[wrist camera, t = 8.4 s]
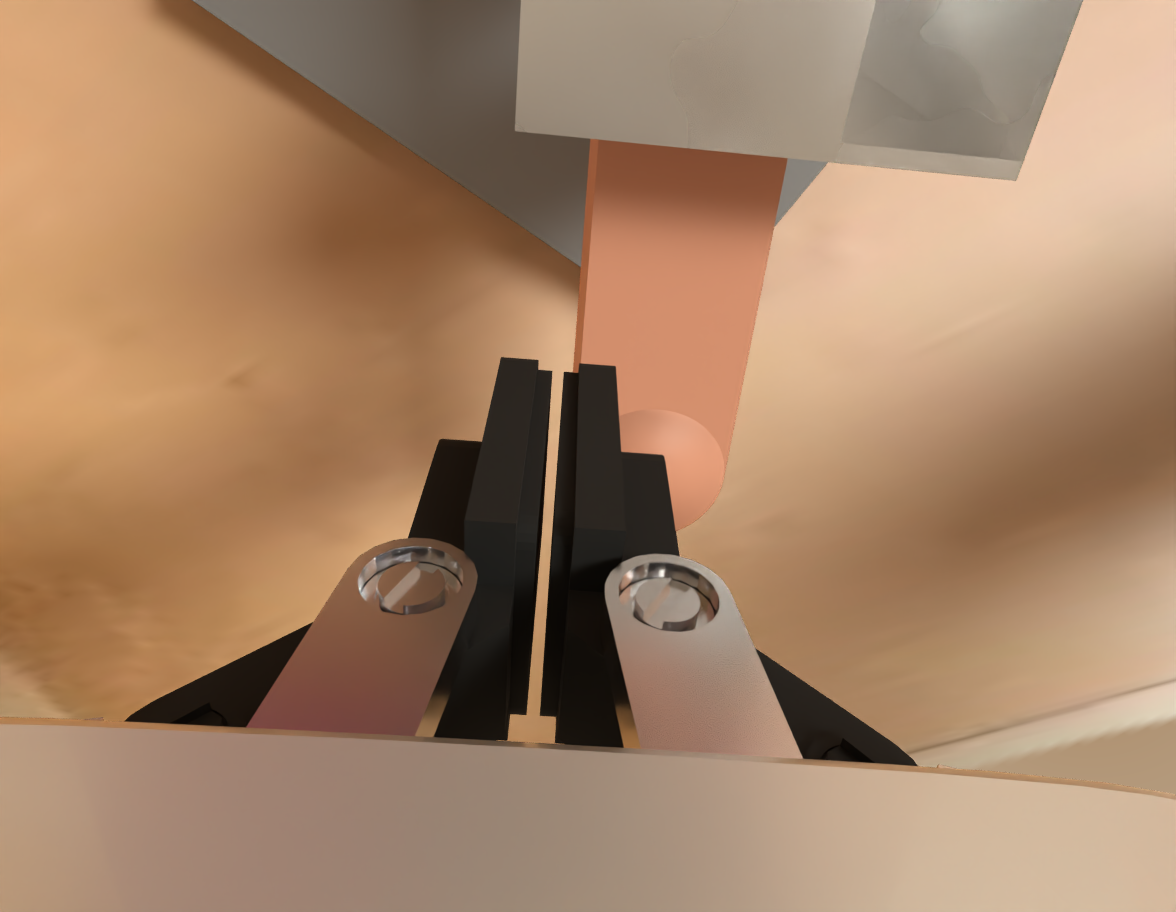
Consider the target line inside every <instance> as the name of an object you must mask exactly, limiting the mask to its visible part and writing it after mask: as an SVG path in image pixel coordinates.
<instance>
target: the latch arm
mask: <svg viewBox="0 0 1176 912" xmlns="http://www.w3.org/2000/svg"><path fill="white" fill-rule="evenodd" d="M787 160H788V158H781V157H770V156H760V155H750V154H740V153H730V152H720V151H710V150H700V149H690V148H680V147H670V146H659V145H649V144H639V143H629V142H619V141H609V140H599V139H590V151H589V164H588V178H587V191H586V205H585V218H584V232H583V245H582V258H581V272H580V285H579V299H578V312H577V326H576V339H575V352H574V366H573V373H578V369H579V363H583V364H596V365H609V366H616V375H617V391H618V407H619V424H620V440H621V452H632V453H646V454H660V455H663V456H664V458H665V462H666V469H667V476H668V482H669V489H670V496H671V503H672V509H673V516H674V523H675V530H676V531H678V530H680V529H682V528H685V527H686V526H688V525H690V524H691V523H693V522H695V521H696V520H697V519H699V518H700V517H701V516H702V515H703V514H704V513H705V512H706V511H707V510H708V509H709V508H710V507H711V505H712V504H713V503H714V501H715V500H716V498H717V496H718V494H719V492H720V490H721V487H722V483H723V479H724V474H725V469H726V464H727V459H728V454H729V449H730V444H731V439H732V434H733V429H734V424H735V420H736V415H737V410H738V405H739V400H740V395H741V390H742V385H743V380H744V375H745V370H746V365H747V360H748V355H749V350H750V345H751V340H752V335H753V330H754V325H755V320H756V315H757V310H758V305H759V300H760V295H761V290H762V285H763V280H764V275H765V270H766V265H767V260H768V255H769V250H770V245H771V240H772V235H773V230H774V225H775V220H776V215H777V210H778V205H779V200H780V195H781V190H782V185H783V180H784V175H785V170H786V165H787Z"/></svg>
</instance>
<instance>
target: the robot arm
mask: <svg viewBox="0 0 1176 912" xmlns="http://www.w3.org/2000/svg"><path fill="white" fill-rule="evenodd" d="M551 383H552V371H546V370H538V360H530V359H517V358H504V357H501V360H500V365H499V369H498V374H497V378H496V382H495V387H494V391H493V396H492V400H491V404H490V409H489V413H488V418H487V422H486V427H485V431H484V435H483V440H482V442H478V441H464V440H450V439H441V440H439V443H438V445H437V448H436V451H435V454H434V457H433V461H432V464H431V467H430V470H429V473H428V476H427V480H426V483H425V486H424V489H423V492H422V495H421V498H420V502H419V505H418V508H417V511H416V514H415V517H414V521H413V524H412V527H411V530H410V533H409V536H408V538H407V539H399V540H393V541H390V542H387V543H384V544H381V545H378V546H375V547H373V548H372V549H370V550H368V551H367V552H365V553H363V554H362V555H360V556H359V557H358V558H357V559H356V560H355V561H354V562H353V563H352V564H351V566H350V567H349V568H348V569H347V571H346V572H345V574H344V575H343V577H342V579H341V580H340V582H339V583H338V585H337V586H336V588H335V589H334V591H333V593H332V594H331V596H330V597H329V599H328V600H327V602H326V603H325V605H324V607H323V608H322V610H321V611H320V613H319V614H318V616H317V617H316V619H315V621H314V622H312V623H310V624H308V625H306V626H304V627H302V628H300V629H298V630H296V631H294V632H292V633H290V634H288V635H286V636H284V637H282V638H280V639H278V640H276V641H274V642H272V643H270V644H268V645H266V646H264V647H262V648H260V649H258V650H256V651H254V652H252V653H250V654H248V655H246V656H244V657H242V658H240V659H238V660H236V661H234V662H231V663H229V664H227V665H225V666H223V667H221V668H219V669H217V670H215V671H213V672H211V673H209V674H207V675H205V676H203V677H201V678H199V679H197V680H195V681H193V682H191V683H189V684H187V685H185V686H183V687H181V688H179V689H177V690H175V691H173V692H171V693H169V694H167V695H165V696H163V697H161V698H159V699H157V700H155V701H153V702H151V703H150V704H148V705H146V706H145V707H143V708H142V709H140V710H138V711H137V712H135V713H133V714H132V715H131V716H129V717H128V718H127V719H126V720H125V721H124V722H122V721H104V719H103V717H100V718H92V719H84V720H78V719H55V718H18V717H0V912H1176V795H1175V794H1171V793H1166V792H1160V791H1155V790H1148V789H1142V788H1136V787H1131V786H1124V785H1119V784H1113V783H1106V782H1097V781H1086V780H1076V779H1066V778H1056V777H1046V776H1036V775H1025V774H1015V773H1005V772H995V771H983V770H966V769H956V768H952V767H948V766H944V765H940V764H938V766H937V768H934V767H920V766H917V764H916V763H915V762H914V760H913V759H912V758H911V757H909V756H908V755H907V754H906V753H905V752H904V751H902V750H901V749H900V748H899V747H898V746H897V745H895V744H894V743H893V742H891V741H890V740H888V739H887V738H885V737H884V736H883V735H881V734H880V733H878V732H877V731H875V730H874V729H872V728H871V727H869V726H868V725H867V724H865V723H864V722H862V721H861V720H859V719H858V718H856V717H855V716H853V715H852V714H850V713H849V712H848V711H846V710H845V709H843V708H842V707H840V706H839V705H837V704H836V703H834V702H833V701H831V700H830V699H829V698H827V697H826V696H824V695H823V694H821V693H820V692H818V691H817V690H815V689H814V688H813V687H811V686H810V685H808V684H807V683H805V682H804V681H802V680H801V679H799V678H798V677H796V676H795V675H794V674H792V673H791V672H789V671H788V670H786V669H785V668H783V667H782V666H780V665H779V664H778V663H776V662H775V661H773V660H772V659H770V658H769V657H767V656H766V655H764V654H763V653H761V652H760V651H759V650H757V649H756V648H755V647H754V645H753V642H752V640H751V638H750V635H749V633H748V631H747V629H746V626H745V624H744V622H743V619H742V617H741V615H740V612H739V610H738V608H737V606H736V603H735V601H734V599H733V596H732V594H731V592H730V591H729V589H728V588H727V586H726V585H725V583H724V582H723V580H722V579H721V578H720V577H719V576H717V575H716V574H715V573H714V572H713V571H711V570H710V569H709V568H707V567H705V566H703V565H701V564H699V563H697V562H695V561H693V560H690V559H687V558H683V557H680V556H679V550H678V543H677V536H676V530H675V523H674V516H673V509H672V503H671V496H670V489H669V482H668V476H667V469H666V462H665V458H664V456H663V455H660V454H646V453H632V452H621V440H620V424H619V407H618V391H617V375H616V366H609V365H596V364H583V363H579V369H578V373H573V372H564V379H563V392H562V406H561V420H560V434H559V447H558V461H557V475H556V489H555V502H554V516H553V530H552V544H551V559H550V574H549V589H548V604H547V619H546V633H545V648H544V663H543V678H542V693H541V707H540V716H554V717H556V733H555V743H559V744H546V743H528V742H510V741H507V738H508V729H509V719H510V714H519V715H526V712H527V701H528V689H529V677H530V666H531V654H532V642H533V631H534V619H535V607H536V596H537V584H538V572H539V561H540V549H541V537H542V523H543V508H544V492H545V477H546V461H547V445H548V430H549V414H550V399H551ZM496 740H505V741H496ZM563 744H565V745H563Z"/></svg>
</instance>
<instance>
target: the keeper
mask: <svg viewBox="0 0 1176 912" xmlns="http://www.w3.org/2000/svg"><path fill="white" fill-rule="evenodd" d="M1082 2H1083V0H521V10H520V31H519V52H518V73H517V94H516V115H515V131H518V132H528V133H538V134H549V135H559V136H569V137H579V138H589V139H599V140H609V141H619V142H629V143H639V144H649V145H659V146H670V147H680V148H690V149H700V150H710V151H720V152H730V153H740V154H750V155H760V156H770V157H781V158H791V159H801V160H811V161H821V162H831V163H841V164H851V165H861V166H871V167H881V168H892V169H902V170H912V171H922V172H932V173H942V174H952V175H962V176H972V177H982V178H992V179H1003V180H1013V181H1016V180H1017V177H1018V174H1019V172H1020V169H1021V166H1022V164H1023V161H1024V158H1025V156H1026V153H1027V150H1028V147H1029V145H1030V142H1031V139H1032V137H1033V134H1034V131H1035V129H1036V126H1037V123H1038V121H1039V118H1040V115H1041V112H1042V110H1043V107H1044V104H1045V102H1046V99H1047V96H1048V94H1049V91H1050V88H1051V85H1052V83H1053V80H1054V77H1055V75H1056V72H1057V69H1058V67H1059V64H1060V61H1061V59H1062V56H1063V53H1064V50H1065V48H1066V45H1067V42H1068V40H1069V37H1070V34H1071V32H1072V29H1073V26H1074V23H1075V21H1076V18H1077V15H1078V13H1079V10H1080V7H1081V5H1082Z"/></svg>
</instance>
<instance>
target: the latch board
mask: <svg viewBox="0 0 1176 912" xmlns="http://www.w3.org/2000/svg"><path fill="white" fill-rule="evenodd" d="M192 1H194V2H195V3H197V4H198V5H200V6H201V7H203V8H204V9H205V10H207V11H208V12H210V13H211V14H213V15H214V16H216V17H217V18H219V19H220V20H222V21H223V22H224V23H226V24H227V25H229V26H230V27H232V28H233V29H235V30H236V31H238V32H239V33H240V34H242V35H243V36H245V37H246V38H248V39H249V40H251V41H252V42H254V43H255V44H256V45H258V46H259V47H261V48H262V49H264V50H265V51H267V52H268V53H270V54H271V55H272V56H274V57H275V58H277V59H278V60H280V61H281V62H283V63H284V64H286V65H287V66H288V67H290V68H291V69H293V70H294V71H296V72H297V73H299V74H300V75H302V76H303V77H304V78H306V79H307V80H309V81H310V82H312V83H313V84H315V85H316V86H318V87H319V88H320V89H322V90H323V91H325V92H326V93H328V94H329V95H331V96H332V97H334V98H335V99H337V100H338V101H339V102H341V103H342V104H344V105H345V106H347V107H348V108H350V109H351V110H353V111H354V112H355V113H357V114H358V115H360V116H361V117H363V118H364V119H366V120H367V121H369V122H370V123H371V124H373V125H374V126H376V127H377V128H379V129H380V130H382V131H383V132H385V133H386V134H387V135H389V136H390V137H392V138H393V139H395V140H396V141H398V142H399V143H401V144H402V145H403V146H405V147H406V148H408V149H409V150H411V151H412V152H414V153H415V154H417V155H418V156H419V157H421V158H422V159H424V160H425V161H427V162H428V163H430V164H431V165H433V166H434V167H435V168H437V169H438V170H440V171H441V172H443V173H444V174H446V175H447V176H449V177H450V178H452V179H453V180H454V181H456V182H457V183H459V184H460V185H462V186H463V187H465V188H466V189H468V190H469V191H470V192H472V193H473V194H475V195H476V196H478V197H479V198H481V199H482V200H484V201H485V202H486V203H488V204H489V205H491V206H492V207H494V208H495V209H497V210H498V211H500V212H501V213H502V214H504V215H505V216H507V217H508V218H510V219H511V220H513V221H514V222H516V223H517V224H518V225H520V226H521V227H523V228H524V229H526V230H527V231H529V232H530V233H532V234H533V235H534V236H536V237H537V238H539V239H540V240H542V241H543V242H545V243H546V244H548V245H549V246H550V247H552V248H553V249H555V250H556V251H558V252H559V253H561V254H562V255H564V256H565V257H567V258H568V259H569V260H571V261H572V262H574V263H575V264H577V265H578V266H580V267H581V258H582V245H583V232H584V218H585V205H586V191H587V178H588V164H589V151H590V139H589V138H579V137H569V136H559V135H549V134H538V133H528V132H518V131H515V115H516V94H517V73H518V52H519V31H520V10H521V0H192ZM827 163H828V162H821V161H811V160H801V159H791V158H788V160H787V165H786V170H785V175H784V180H783V185H782V190H781V195H780V200H779V205H778V210H777V215H776V220H775V225H774V227H775V226H776V224H777V223H778V222H779V221H780V220H781V218H782V217H783V216H784V215H785V214H786V212H787V211H788V210H789V209H790V208H791V206H792V205H793V204H794V203H795V202H796V200H797V199H798V198H799V197H800V196H801V194H802V193H803V192H804V191H805V190H806V188H807V187H808V186H809V185H810V183H811V182H812V181H813V180H814V179H815V177H816V176H817V175H818V174H819V173H820V171H821V170H822V169H823V168H824V167H825V165H826V164H827Z"/></svg>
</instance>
